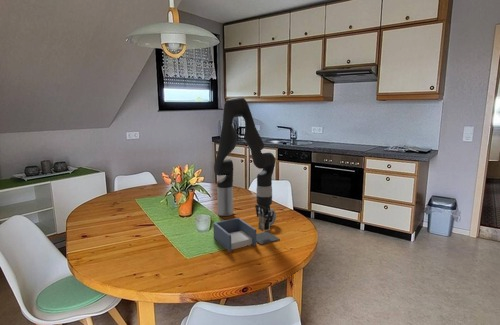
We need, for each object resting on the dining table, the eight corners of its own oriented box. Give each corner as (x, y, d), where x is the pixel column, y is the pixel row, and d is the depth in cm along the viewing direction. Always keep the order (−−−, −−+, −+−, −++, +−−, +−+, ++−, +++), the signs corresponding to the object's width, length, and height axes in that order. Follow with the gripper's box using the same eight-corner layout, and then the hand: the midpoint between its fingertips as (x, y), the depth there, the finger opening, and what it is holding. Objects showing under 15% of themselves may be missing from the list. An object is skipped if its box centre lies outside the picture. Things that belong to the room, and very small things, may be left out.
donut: (264, 229, 167) (264, 211, 165) (260, 227, 169) (260, 210, 168) (277, 224, 174) (277, 207, 172) (273, 223, 176) (273, 206, 174)
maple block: (258, 228, 156) (258, 215, 155) (265, 227, 158) (265, 213, 157) (262, 231, 153) (262, 217, 151) (269, 229, 154) (269, 216, 153)
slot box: (213, 237, 157) (213, 222, 156) (238, 232, 164) (238, 217, 162) (229, 252, 142) (229, 235, 140) (256, 245, 148) (256, 229, 147)
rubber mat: (249, 236, 158) (249, 235, 158) (267, 232, 164) (267, 231, 163) (260, 245, 149) (260, 243, 149) (279, 240, 154) (279, 239, 154)
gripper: (250, 191, 156) (250, 224, 159) (265, 199, 144) (265, 234, 147) (263, 189, 160) (263, 222, 163) (279, 196, 148) (278, 231, 151)
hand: (264, 227), depth 155 cm, fingers closed on maple block, 4 cm apart
